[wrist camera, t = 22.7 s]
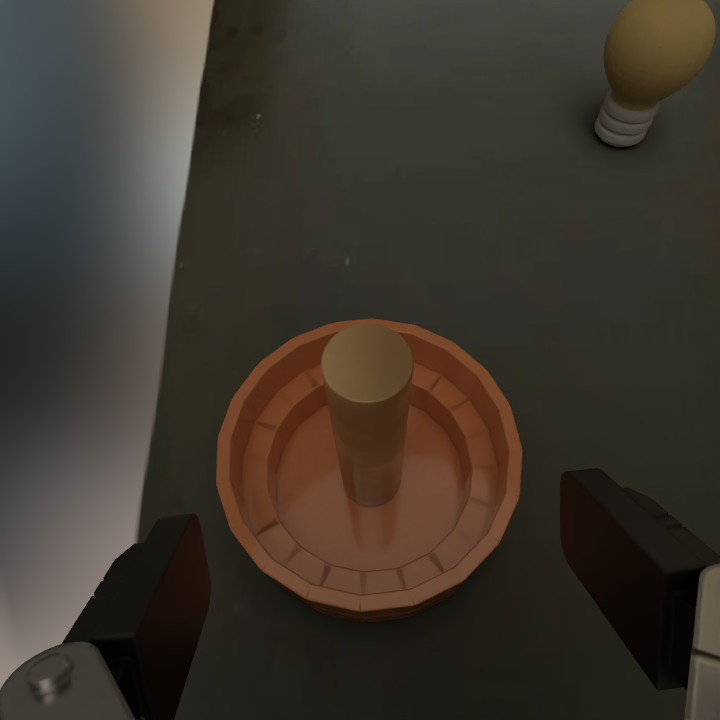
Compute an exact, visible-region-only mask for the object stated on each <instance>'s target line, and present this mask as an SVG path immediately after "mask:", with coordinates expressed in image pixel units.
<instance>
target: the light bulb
mask: <svg viewBox="0 0 720 720" xmlns="http://www.w3.org/2000/svg"><path fill="white" fill-rule="evenodd" d="M715 32H716V26H715V20H714V16H713V14H712V12H711V10H710V8H709V6H708V5H707V4H706V3H705V1H704V0H632V1H631V2H630V3H629V4H628V5H627V6H626V7H625V8H624V9H623V10H622V11H621V12H620V13H619V15H618V16H617V18H616V19H615V21H614V23H613V24H612V26H611V29H610V31H609V33H608V36H607V38H606V42H605V47H604V67H605V72H606V75H607V79H608V81H609V84H610V86H611V89H610V90H609V91H608V93H607V94H606V97H605V100H604V104H603V105H602V107H601V109H600V112H599V116H598V117H597V120H596V122H595V132H596V133H597V135H598V136H599V137H600V138H601V139H602V141H604V142H605V143H607V144H609V145H612V146H617V147H627V146H631V145H635V144H637V143H639V142H640V141H641V140H642V139H643V138H644V137H645V135H646V133H647V130H648V128H649V126H650V125H651V123H652V121H653V117H654V116H655V114H656V112H657V111H658V108H659V104H660V102H659V101H660V100H662V99H664V98H666V97H668V96H669V95H671V94H673V93H674V92H676V91H678V90H679V89H681V88H682V87H683V86H685V85H686V84H687V83H688V82H689V81H690V80H691V79H692V78H693V77H695V76H696V74H697V73H698V72H699V71H700V70H701V68H702V67H703V65H704V64H705V62H706V61H707V59H708V57H709V55H710V52H711V50H712V47H713V43H714V39H715Z"/></svg>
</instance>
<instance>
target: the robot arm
mask: <svg viewBox="0 0 720 720" xmlns="http://www.w3.org/2000/svg"><path fill="white" fill-rule="evenodd" d="M560 537H561V544H562V549H563V552H564V555H565V558H566V560H567V562H568V564H569V566H570V567H571V569H572V570H573V571H574V573H575V574H576V576H577V577H578V578H579V580H580V581H581V583H582V584H583V586H584V587H585V588H586V590H587V591H588V593H589V594H590V595H591V597H592V598H593V600H594V601H595V603H596V604H597V605H598V607H599V608H600V610H601V611H602V613H603V614H604V615H605V617H606V618H607V620H608V621H609V622H610V624H611V625H612V627H613V628H614V630H615V631H616V632H617V634H618V635H619V637H620V638H621V640H622V641H623V642H624V644H625V645H626V647H627V648H628V649H629V651H630V652H631V654H632V655H633V657H634V658H635V659H636V661H637V662H638V664H639V665H640V666H641V668H642V669H643V671H644V672H645V674H646V675H647V676H648V678H649V679H650V681H651V682H652V684H653V685H654V686H655V688H656V689H657V690H664V689H672V688H680V687H684V688H685V689H686V691H687V699H686V710H685V720H720V556H718V555H717V554H716V553H715V552H714V551H713V550H711V549H710V548H709V547H708V546H707V545H706V544H704V543H703V542H702V541H701V540H700V539H699V538H697V537H696V536H695V535H694V534H693V533H691V532H690V531H689V530H688V529H687V528H686V527H682V524H681V523H680V522H679V521H677V520H676V519H675V518H674V517H673V516H672V515H668V512H667V511H666V510H664V509H663V508H662V507H661V506H660V505H659V504H657V503H656V502H655V501H654V500H653V499H652V498H649V497H647V496H645V495H643V494H641V493H639V492H636V491H634V490H632V489H630V488H621V487H620V486H619V485H618V484H617V483H616V482H615V481H614V480H612V479H611V478H610V477H609V476H608V475H607V474H606V473H605V472H604V471H602V470H601V469H599V468H595V469H586V470H577V471H568V472H564V473H563V474H562V476H561V481H560ZM210 595H211V582H210V574H209V569H208V563H207V558H206V553H205V548H204V542H203V537H202V532H201V527H200V522H199V519H198V517H197V515H196V514H185V515H177V516H168V517H160V518H159V519H158V520H157V521H156V523H155V525H154V526H153V528H152V530H151V532H150V533H149V535H148V537H147V539H146V540H145V542H144V543H138V544H133V545H132V546H131V547H130V548H129V549H127V550H126V551H125V552H124V553H123V554H121V555H120V556H119V557H118V558H117V559H115V561H114V562H113V563H112V565H111V567H110V568H109V570H108V571H107V573H106V575H105V576H104V580H103V581H101V582H100V584H99V586H98V587H97V589H96V590H95V592H94V596H92V597H91V598H90V600H89V601H88V603H87V605H86V606H85V608H84V609H83V611H82V612H81V614H80V616H79V617H78V619H77V620H76V622H75V623H74V625H73V627H72V628H71V630H70V631H69V633H68V635H67V636H66V638H65V639H64V641H63V642H62V644H61V645H58V646H55V647H52V648H49V649H47V650H45V651H43V652H41V653H39V654H38V655H36V656H34V657H32V658H31V659H29V660H28V661H26V662H25V663H24V664H22V665H21V666H20V667H19V668H17V669H16V670H15V671H14V672H13V673H12V674H11V676H10V677H9V678H8V679H7V680H6V682H5V683H4V684H3V686H2V688H1V690H0V720H174V718H175V714H176V711H177V708H178V705H179V702H180V698H181V695H182V692H183V689H184V685H185V682H186V679H187V676H188V673H189V669H190V666H191V663H192V660H193V656H194V653H195V650H196V647H197V644H198V640H199V637H200V634H201V631H202V627H203V624H204V621H205V618H206V615H207V611H208V608H209V604H210Z"/></svg>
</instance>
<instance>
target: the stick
mask: <svg viewBox="0 0 720 720" xmlns="http://www.w3.org/2000/svg"><path fill="white" fill-rule="evenodd" d="M413 366H414V361H413V355H412V351H411V349H410V347H409V345H408V344H407V342H406V341H405V340H404V338H403V337H402V336H401V335H399V334H398V333H397V332H395V331H394V330H392V329H390V328H388V327H386V326H382V325H379V324H371V323H365V324H357V325H353V326H350V327H347V328H345V329H343V330H341V331H340V332H339V333H337V334H336V335H335V336H334V337H333V338H332V339H331V340H330V341H329V342H328V344H327V345H326V347H325V349H324V351H323V354H322V359H321V370H322V375H323V381H324V386H325V391H326V397H327V402H328V407H329V413H330V418H331V423H332V429H333V434H334V439H335V445H336V450H337V455H338V461H339V466H340V471H341V477H342V482H343V486H344V489H345V491H346V493H347V495H348V496H349V497H350V498H351V499H352V500H353V501H354V502H356V503H357V504H359V505H362V506H366V507H378V506H381V505H384V504H386V503H387V502H389V501H390V500H391V499H393V497H394V496H395V495H396V493H397V492H398V490H399V487H400V482H401V474H402V465H403V456H404V447H405V438H406V429H407V420H408V411H409V402H410V394H411V385H412V376H413Z"/></svg>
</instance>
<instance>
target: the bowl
mask: <svg viewBox="0 0 720 720" xmlns="http://www.w3.org/2000/svg"><path fill="white" fill-rule="evenodd" d="M365 323H371V324H379V325H382V326H386V327H388V328H390V329H392V330H394V331H395V332H397V333H398V334H399V335H401V336H402V337H403V338H404V340H405V341H406V342H407V344H408V345H409V347H410V349H411V351H412V355H413V361H414V366H413V376H412V385H411V394H410V402H409V411H408V420H407V429H406V438H405V447H404V456H403V465H402V474H401V482H400V487H399V490H398V492H397V493H396V495H395V496H394V497H393V499H391V500H390V501H389V502H387V503H386V504H384V505H381V506H378V507H366V506H362V505H359V504H357V503H356V502H354V501H353V500H352V499H351V498H350V497H349V496H348V495H347V493H346V491H345V489H344V486H343V482H342V477H341V471H340V466H339V461H338V455H337V450H336V445H335V439H334V434H333V429H332V423H331V418H330V413H329V407H328V402H327V397H326V391H325V386H324V381H323V375H322V370H321V359H322V354H323V351H324V349H325V347H326V345H327V344H328V342H329V341H330V340H331V339H332V338H333V337H334V336H335V335H336V334H337V333H339V332H340V331H341V330H343V329H345V328H347V327H350V326H353V325H357V324H365ZM522 455H523V452H522V446H521V442H520V439H519V435H518V431H517V428H516V424H515V420H514V417H513V413H512V409H511V407H510V404H509V403H508V401H507V400H506V398H505V397H504V395H503V394H502V392H501V391H500V389H499V388H498V386H497V384H496V383H495V381H494V380H493V378H492V377H491V375H490V374H489V372H488V371H487V370H486V369H485V368H484V367H483V366H482V365H480V364H479V363H478V362H477V361H476V360H474V359H473V358H472V357H471V356H470V355H468V354H467V353H466V352H465V351H464V350H462V349H461V348H460V347H459V346H458V345H456V344H455V343H454V342H452V341H450V340H448V339H446V338H444V337H441V336H439V335H437V334H435V333H432V332H430V331H428V330H426V329H423V328H421V327H419V326H417V325H412V324H406V323H399V322H393V321H387V320H380V319H374V318H372V319H362V320H353V321H343V322H333V324H332V323H330V324H328V325H325V326H323V327H320V328H317V329H315V330H312V331H309V332H307V333H304V334H302V335H299V336H296V337H294V338H292V339H291V340H289V341H288V342H287V343H285V344H284V345H283V346H281V347H280V348H279V349H277V350H276V351H274V352H273V353H272V354H270V355H269V356H268V357H266V358H265V359H264V360H262V361H261V362H260V363H259V364H258V365H257V366H256V368H255V369H254V370H253V371H252V373H251V374H250V375H249V377H248V378H247V379H246V381H245V382H244V383H243V384H242V386H241V387H240V388H239V390H238V391H237V392H236V394H235V395H234V397H233V398H232V400H231V403H230V406H229V408H228V411H227V414H226V417H225V419H224V422H223V425H222V427H221V430H220V433H219V435H218V442H217V471H216V484H217V489H218V492H219V495H220V499H221V502H222V505H223V508H224V511H225V515H226V518H227V521H228V524H229V527H230V529H231V532H232V533H233V534H234V536H235V537H236V538H237V540H238V541H239V542H240V544H241V545H242V546H243V548H244V549H245V550H246V552H247V553H248V554H249V556H250V557H251V558H252V559H253V561H254V562H255V563H256V565H257V566H258V567H259V569H260V570H261V571H262V572H263V573H265V574H266V575H267V576H268V577H269V578H270V579H271V580H272V581H274V582H275V583H276V584H277V585H278V586H279V587H280V588H281V589H283V590H284V591H286V592H288V593H289V594H291V595H292V596H294V597H295V598H297V599H298V600H300V601H301V602H303V603H304V604H306V605H308V606H309V607H311V608H312V609H314V610H315V611H317V612H320V613H323V614H327V615H332V616H336V617H340V618H344V619H349V620H353V621H357V622H364V623H366V622H374V621H383V620H391V619H400V618H407V617H408V616H409V617H411V616H413V615H415V614H417V613H419V612H421V611H423V610H425V609H427V608H429V607H431V606H433V605H435V604H437V603H439V602H441V601H443V600H445V599H447V598H448V597H449V596H451V595H452V594H453V593H454V592H455V591H456V590H457V589H458V588H459V587H460V586H461V584H462V583H463V582H464V581H465V580H466V579H467V578H468V577H469V576H470V575H471V574H472V573H473V572H474V571H475V570H476V569H477V568H478V567H479V565H480V564H481V563H482V562H483V561H484V560H485V559H486V558H487V557H488V556H489V555H490V554H491V552H492V551H493V550H494V549H495V548H496V547H497V546H498V545H499V543H500V542H501V540H502V537H503V535H504V533H505V530H506V528H507V526H508V524H509V521H510V519H511V517H512V514H513V512H514V510H515V507H516V505H517V503H518V500H519V497H520V485H521V470H522Z"/></svg>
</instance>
